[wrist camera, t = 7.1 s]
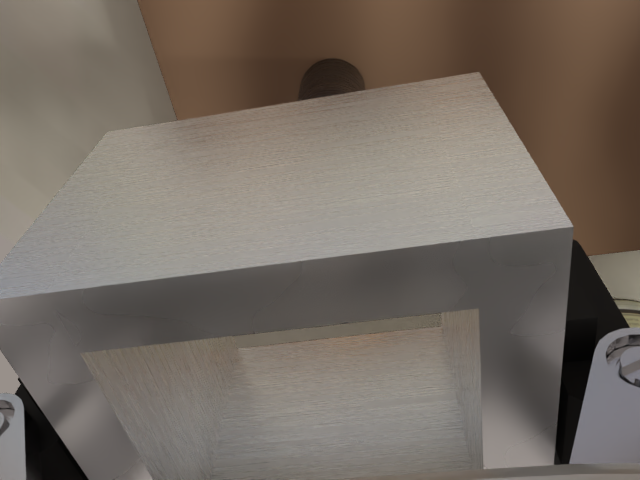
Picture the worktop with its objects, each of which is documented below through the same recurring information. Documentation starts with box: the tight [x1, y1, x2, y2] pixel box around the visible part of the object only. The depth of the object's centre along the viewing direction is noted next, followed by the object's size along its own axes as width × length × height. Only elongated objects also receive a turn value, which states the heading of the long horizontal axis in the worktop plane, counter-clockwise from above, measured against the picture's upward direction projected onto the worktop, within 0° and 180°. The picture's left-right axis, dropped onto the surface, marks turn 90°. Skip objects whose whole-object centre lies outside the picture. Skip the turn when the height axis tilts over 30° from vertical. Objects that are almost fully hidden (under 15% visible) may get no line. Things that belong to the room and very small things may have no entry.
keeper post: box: [297, 58, 366, 101], centre depth 18 cm, size 3×3×7 cm
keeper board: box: [137, 0, 640, 256], centre depth 21 cm, size 24×18×2 cm
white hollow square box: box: [0, 72, 574, 480], centre depth 10 cm, size 7×7×5 cm
